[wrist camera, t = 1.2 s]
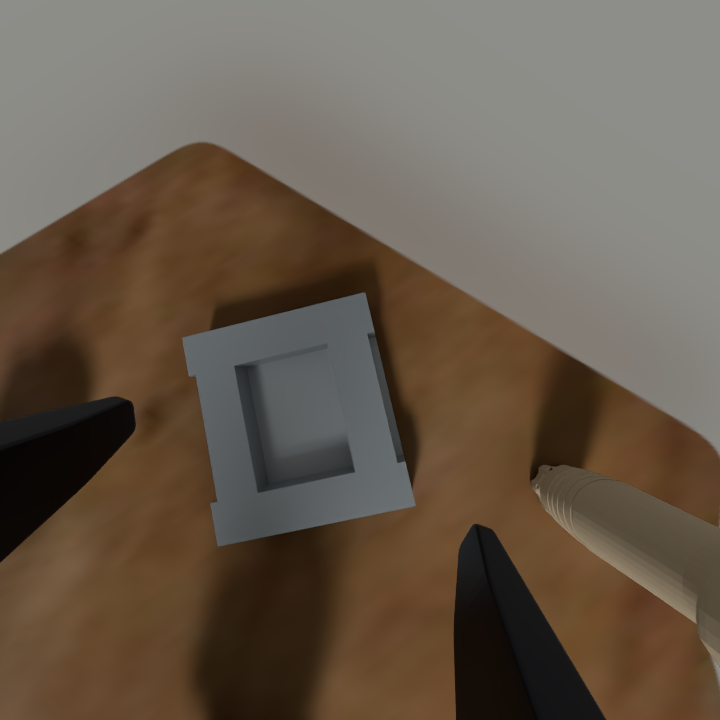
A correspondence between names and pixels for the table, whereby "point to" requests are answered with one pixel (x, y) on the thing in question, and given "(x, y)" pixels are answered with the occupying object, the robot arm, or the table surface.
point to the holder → (298, 421)
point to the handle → (641, 541)
